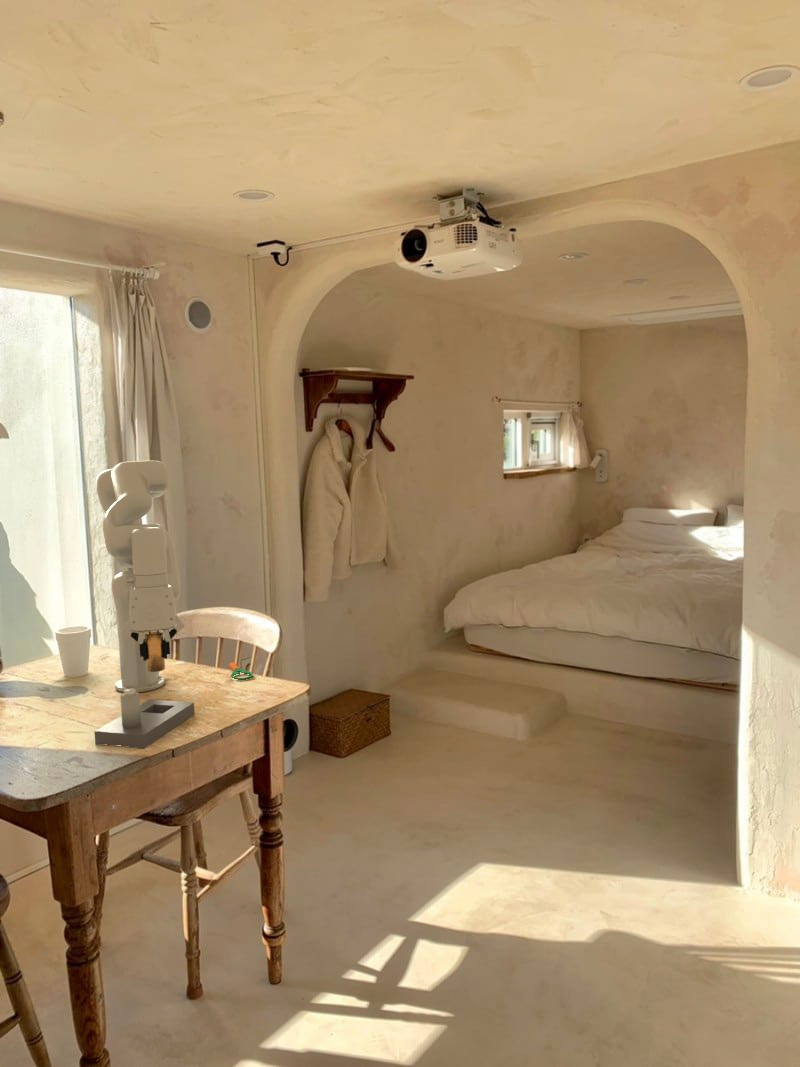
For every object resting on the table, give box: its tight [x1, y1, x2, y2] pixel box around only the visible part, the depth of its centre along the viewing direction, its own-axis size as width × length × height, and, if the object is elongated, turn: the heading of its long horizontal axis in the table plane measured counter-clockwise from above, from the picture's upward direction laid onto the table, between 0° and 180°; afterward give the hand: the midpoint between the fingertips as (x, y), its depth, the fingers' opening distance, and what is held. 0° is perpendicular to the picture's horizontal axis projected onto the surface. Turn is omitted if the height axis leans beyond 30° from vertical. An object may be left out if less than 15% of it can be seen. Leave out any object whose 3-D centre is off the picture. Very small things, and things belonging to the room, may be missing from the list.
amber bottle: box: [145, 630, 166, 672], centre depth 190 cm, size 4×4×10 cm
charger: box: [94, 689, 195, 749], centre depth 186 cm, size 22×12×11 cm, turn 166°
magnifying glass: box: [228, 662, 254, 681], centre depth 230 cm, size 15×6×2 cm, turn 24°
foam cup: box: [55, 625, 92, 678], centre depth 232 cm, size 10×9×13 cm
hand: (155, 657), depth 190 cm, fingers closed on amber bottle, 4 cm apart
